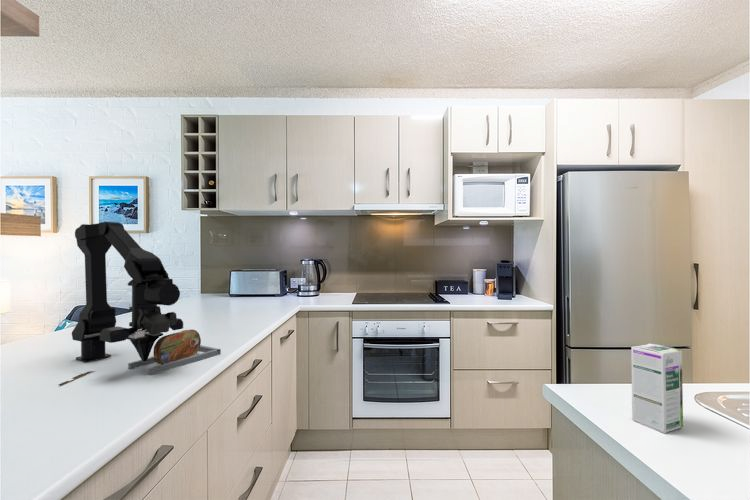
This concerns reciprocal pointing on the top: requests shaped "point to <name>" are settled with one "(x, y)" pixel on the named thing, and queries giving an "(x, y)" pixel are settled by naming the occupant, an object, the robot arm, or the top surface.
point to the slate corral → (208, 353)
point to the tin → (176, 346)
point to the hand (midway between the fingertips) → (144, 360)
